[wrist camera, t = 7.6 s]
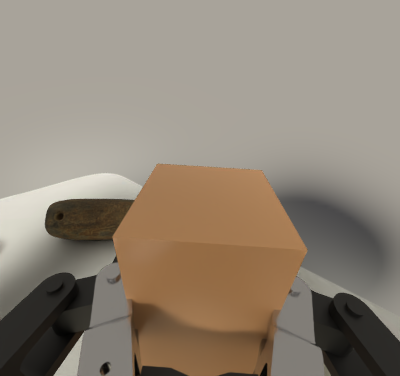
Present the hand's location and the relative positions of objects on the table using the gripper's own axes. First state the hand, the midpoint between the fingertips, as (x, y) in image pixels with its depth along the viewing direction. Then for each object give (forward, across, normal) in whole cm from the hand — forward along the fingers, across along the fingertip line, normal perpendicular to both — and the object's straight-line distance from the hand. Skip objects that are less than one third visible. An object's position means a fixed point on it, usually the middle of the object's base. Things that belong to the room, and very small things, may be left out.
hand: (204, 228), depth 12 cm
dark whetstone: (+16, +16, +17) cm, 28 cm away
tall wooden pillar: (-3, 0, +6) cm, 7 cm away
